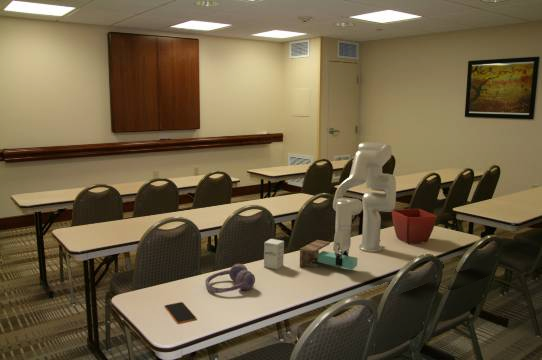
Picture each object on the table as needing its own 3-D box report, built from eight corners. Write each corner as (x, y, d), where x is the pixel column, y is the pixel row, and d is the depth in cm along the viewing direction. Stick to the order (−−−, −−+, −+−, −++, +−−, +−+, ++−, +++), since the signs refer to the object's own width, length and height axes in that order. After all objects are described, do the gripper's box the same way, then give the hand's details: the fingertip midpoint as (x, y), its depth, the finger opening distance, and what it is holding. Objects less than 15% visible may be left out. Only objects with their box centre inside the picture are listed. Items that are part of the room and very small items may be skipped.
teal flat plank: (323, 258, 230) (323, 250, 229) (357, 265, 220) (357, 257, 220) (317, 261, 225) (317, 254, 224) (352, 269, 215) (352, 261, 215)
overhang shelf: (316, 257, 239) (317, 239, 237) (329, 260, 235) (329, 242, 233) (299, 267, 224) (300, 248, 222) (312, 270, 220) (313, 251, 219)
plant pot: (435, 244, 266) (438, 215, 263) (406, 246, 261) (408, 217, 258) (417, 235, 284) (418, 208, 282) (389, 237, 279) (390, 209, 277)
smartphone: (182, 303, 182) (182, 301, 182) (197, 320, 168) (197, 318, 168) (163, 307, 179) (163, 304, 178) (177, 325, 164) (177, 322, 164)
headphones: (245, 275, 211) (202, 287, 204) (243, 258, 209) (199, 270, 202) (259, 290, 194) (213, 304, 187) (256, 272, 192) (210, 285, 186)
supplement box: (263, 267, 223) (263, 242, 221) (270, 262, 230) (270, 238, 228) (277, 270, 220) (277, 244, 218) (283, 265, 226) (284, 240, 224)
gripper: (343, 222, 228) (342, 257, 230) (328, 229, 213) (326, 267, 216) (357, 224, 224) (356, 260, 226) (343, 232, 209) (341, 270, 212)
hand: (341, 263), depth 221 cm, fingers closed on teal flat plank, 6 cm apart
